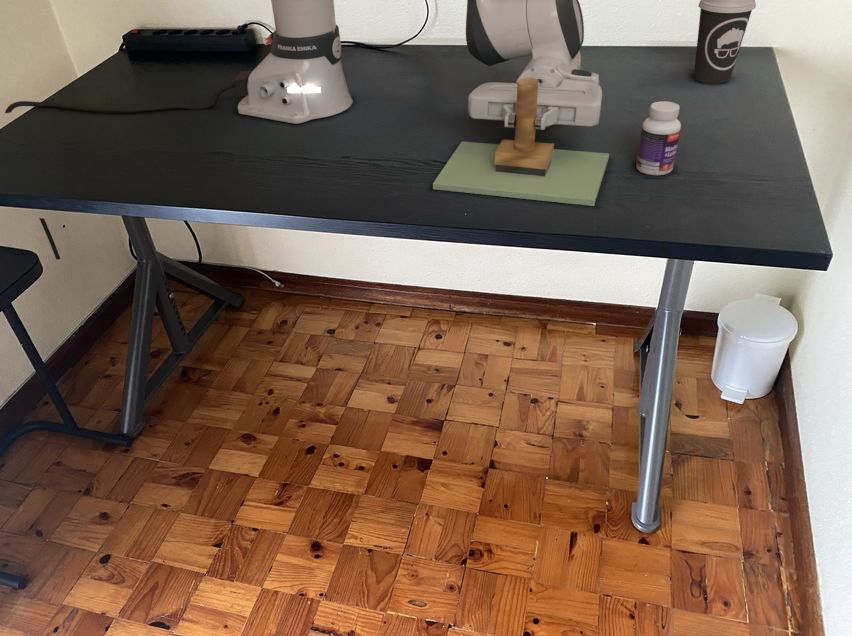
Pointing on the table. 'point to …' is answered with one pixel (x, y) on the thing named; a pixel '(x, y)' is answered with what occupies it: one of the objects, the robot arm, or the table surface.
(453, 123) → the table surface
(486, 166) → the mat
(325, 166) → the table surface
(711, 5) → the coffee cup
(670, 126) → the pill bottle
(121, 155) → the table surface
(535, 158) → the scrub brush
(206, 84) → the table surface
